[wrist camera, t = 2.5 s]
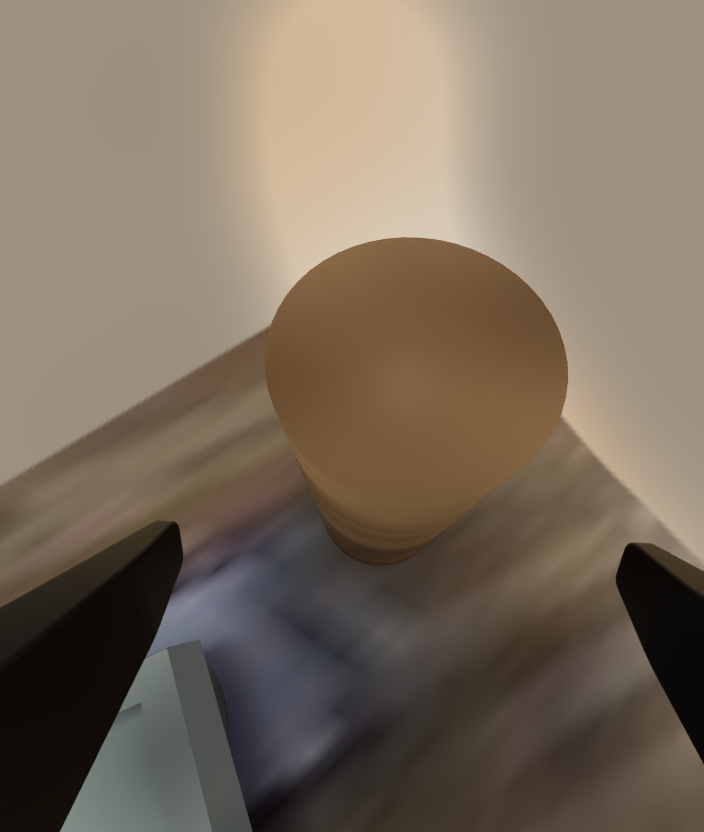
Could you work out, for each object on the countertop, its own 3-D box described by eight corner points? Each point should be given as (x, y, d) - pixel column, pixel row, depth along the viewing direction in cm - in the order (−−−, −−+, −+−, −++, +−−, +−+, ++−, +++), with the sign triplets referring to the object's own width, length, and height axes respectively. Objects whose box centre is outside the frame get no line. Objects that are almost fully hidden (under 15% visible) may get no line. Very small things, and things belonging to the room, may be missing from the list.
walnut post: (455, 535, 19) (633, 418, 7) (350, 586, 18) (336, 559, 6) (403, 436, 20) (468, 205, 8) (305, 478, 20) (225, 291, 8)
